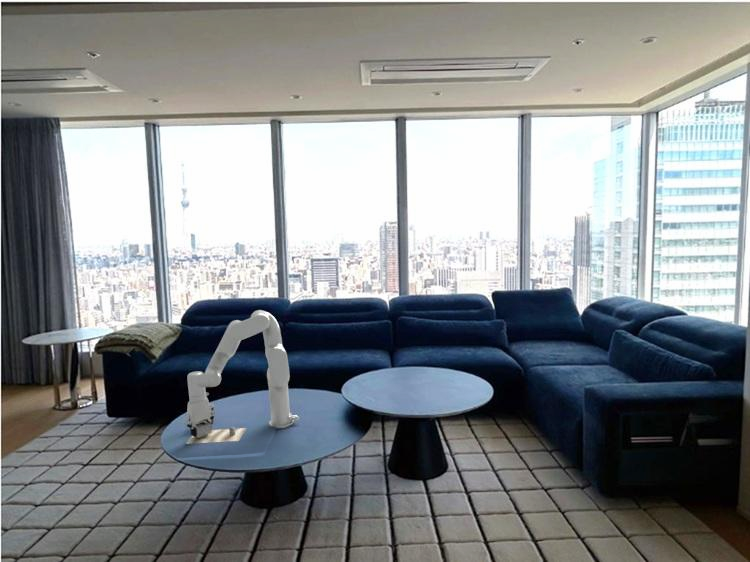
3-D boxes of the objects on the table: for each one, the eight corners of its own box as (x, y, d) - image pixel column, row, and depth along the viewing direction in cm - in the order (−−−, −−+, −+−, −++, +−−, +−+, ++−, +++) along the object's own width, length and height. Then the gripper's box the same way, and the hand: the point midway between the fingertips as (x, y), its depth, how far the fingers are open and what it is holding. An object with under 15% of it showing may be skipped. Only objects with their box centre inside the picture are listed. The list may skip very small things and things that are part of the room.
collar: (205, 429, 228) (204, 420, 228) (211, 432, 223) (211, 423, 223) (191, 433, 223) (190, 424, 223) (197, 437, 218) (196, 428, 218)
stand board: (247, 430, 231) (245, 417, 230) (238, 443, 217) (237, 429, 216) (197, 433, 231) (195, 420, 230) (185, 446, 217) (184, 432, 216)
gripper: (211, 390, 230) (215, 424, 232) (176, 401, 218) (180, 437, 220) (218, 394, 225) (222, 428, 227) (183, 405, 213) (187, 441, 215)
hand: (201, 432), depth 223 cm, fingers closed on collar, 7 cm apart
